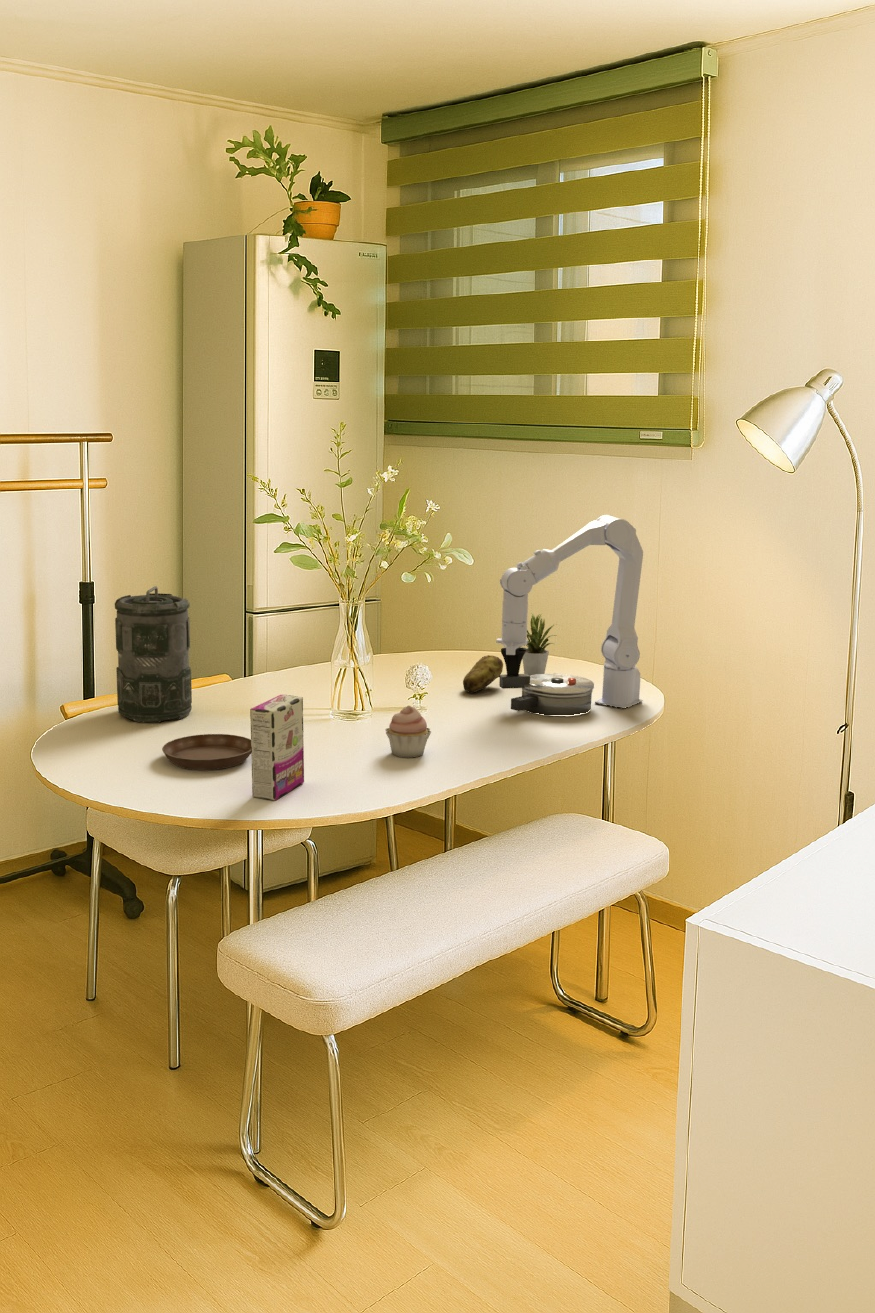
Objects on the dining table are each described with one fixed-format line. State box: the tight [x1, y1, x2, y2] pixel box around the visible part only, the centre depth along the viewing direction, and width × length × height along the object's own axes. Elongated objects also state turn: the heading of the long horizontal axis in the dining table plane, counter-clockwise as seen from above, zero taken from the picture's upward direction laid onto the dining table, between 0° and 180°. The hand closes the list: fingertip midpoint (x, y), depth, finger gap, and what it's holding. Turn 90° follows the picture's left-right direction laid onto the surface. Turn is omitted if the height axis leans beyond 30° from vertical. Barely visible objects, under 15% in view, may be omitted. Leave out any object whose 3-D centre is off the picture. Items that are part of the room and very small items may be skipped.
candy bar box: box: [249, 694, 305, 801], centre depth 213 cm, size 11×5×16 cm, turn 158°
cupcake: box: [385, 705, 432, 759], centre depth 237 cm, size 9×9×10 cm
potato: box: [462, 654, 504, 693], centre depth 291 cm, size 8×13×8 cm, turn 126°
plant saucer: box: [161, 733, 252, 771], centre depth 231 cm, size 18×18×3 cm
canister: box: [114, 585, 193, 724], centre depth 259 cm, size 16×16×28 cm
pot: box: [510, 688, 594, 715], centre depth 274 cm, size 22×16×5 cm
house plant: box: [522, 612, 558, 676], centre depth 308 cm, size 14×14×16 cm
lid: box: [498, 673, 595, 694], centre depth 274 cm, size 22×17×3 cm
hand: (512, 679), depth 275 cm, fingers closed, pressing on lid
